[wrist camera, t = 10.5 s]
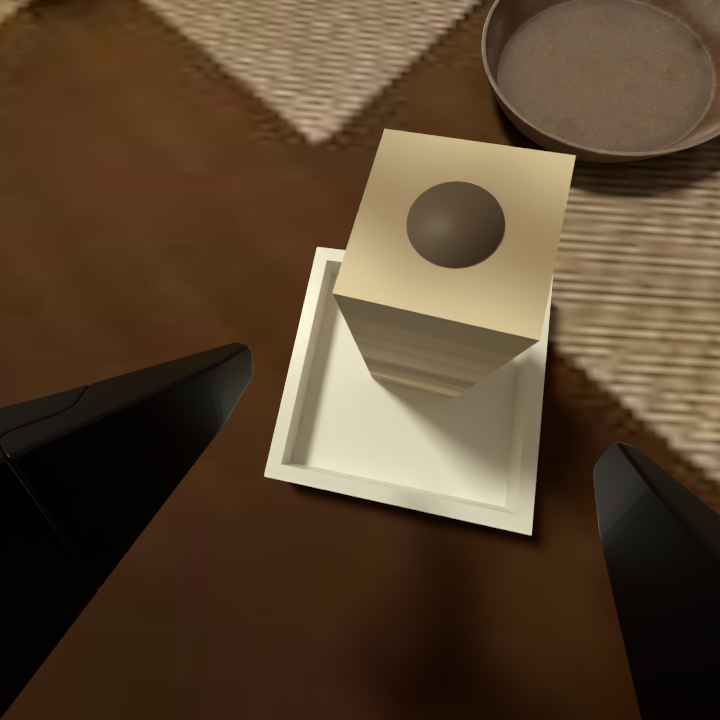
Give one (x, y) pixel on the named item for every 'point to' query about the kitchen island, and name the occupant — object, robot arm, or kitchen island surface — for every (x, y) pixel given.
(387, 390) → the tray
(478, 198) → the maple block
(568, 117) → the plant saucer
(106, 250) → the kitchen island surface
